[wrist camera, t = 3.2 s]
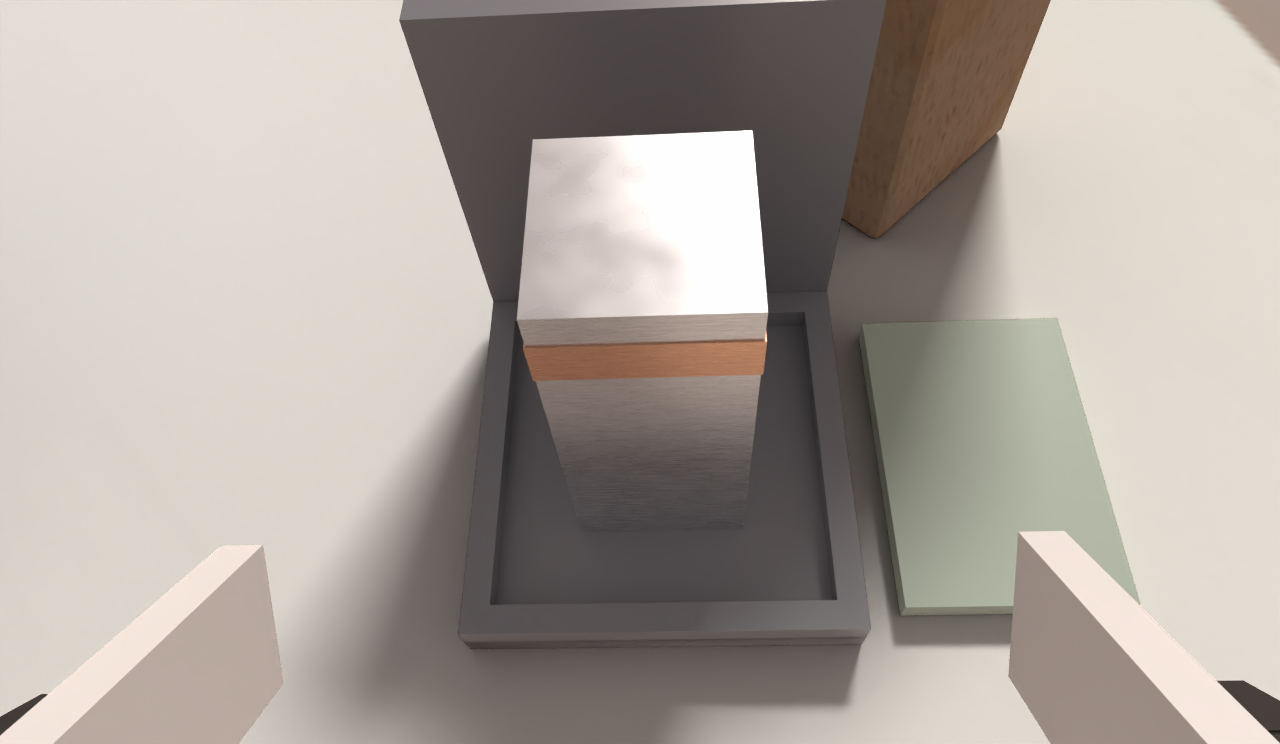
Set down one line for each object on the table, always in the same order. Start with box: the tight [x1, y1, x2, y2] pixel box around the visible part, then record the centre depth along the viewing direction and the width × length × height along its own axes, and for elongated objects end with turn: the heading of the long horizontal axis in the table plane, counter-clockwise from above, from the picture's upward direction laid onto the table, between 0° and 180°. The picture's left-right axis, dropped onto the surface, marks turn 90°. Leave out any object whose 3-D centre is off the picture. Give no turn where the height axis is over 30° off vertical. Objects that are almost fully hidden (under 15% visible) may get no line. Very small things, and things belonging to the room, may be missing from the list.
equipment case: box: [399, 0, 887, 649], centre depth 29 cm, size 14×15×16 cm
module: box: [517, 131, 768, 532], centre depth 29 cm, size 6×6×14 cm
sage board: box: [859, 318, 1140, 616], centre depth 35 cm, size 8×12×1 cm, turn 0°
